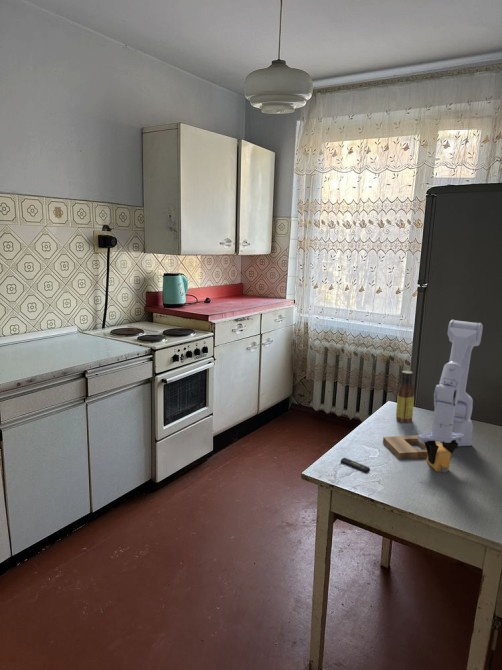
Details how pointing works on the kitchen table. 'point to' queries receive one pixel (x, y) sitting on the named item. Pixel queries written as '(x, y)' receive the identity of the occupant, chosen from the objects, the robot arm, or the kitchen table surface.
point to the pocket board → (406, 446)
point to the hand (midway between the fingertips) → (437, 462)
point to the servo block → (441, 459)
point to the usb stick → (355, 465)
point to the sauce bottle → (405, 398)
